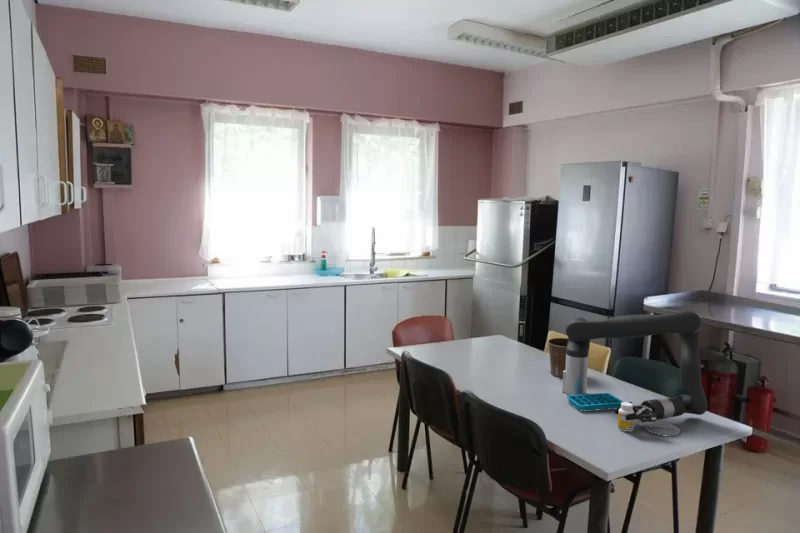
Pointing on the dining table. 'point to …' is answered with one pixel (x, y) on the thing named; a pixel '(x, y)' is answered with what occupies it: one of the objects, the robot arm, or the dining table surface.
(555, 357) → the plant pot
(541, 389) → the dining table surface
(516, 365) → the dining table surface
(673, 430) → the coaster
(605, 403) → the ice cube tray
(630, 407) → the supplement bottle
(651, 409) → the robot arm
